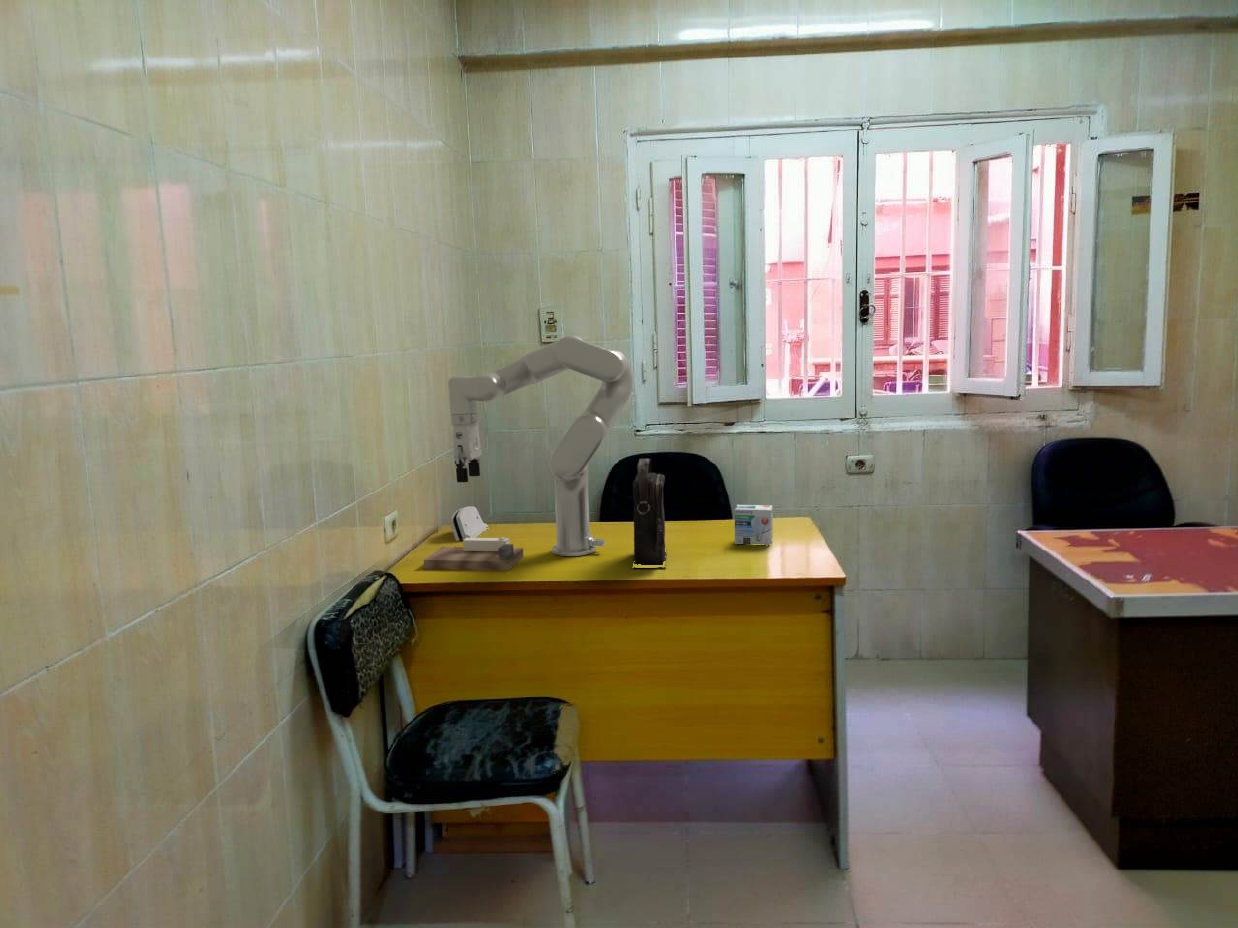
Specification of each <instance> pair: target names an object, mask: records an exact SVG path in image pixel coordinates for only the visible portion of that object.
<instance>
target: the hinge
mask: <svg viewBox="0 0 1238 928" xmlns="http://www.w3.org/2000/svg"><path fill="white" fill-rule="evenodd" d="M449 525H450V528H451V530H452V533H453V536H454V539H455V542H460V541H461V540H464V539H466V538H476V537H477V536H478V535H480V534H481V533H482V532H483V531H486V529H489V530H490V528H489V525H488V524H487V523H485V522H484V521H483V519H482V517H481V515H480V512H479V511H478V509H477V508H476V507H475V506H472V505H471V506H469V505H468V506H465V507H462V508H459V509H457V510H456V511H455V512H453V513H452V515H451V516H450V518H449ZM486 527H488V528H486ZM486 532H487V531H486ZM480 536H481V535H480ZM477 538H478V537H477Z"/></svg>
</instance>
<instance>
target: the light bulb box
mask: <svg viewBox="0 0 1238 928" xmlns="http://www.w3.org/2000/svg"><path fill="white" fill-rule="evenodd" d="M773 507H774V506H773V504H767V505H764V504H736V507H735V508H734V545H735V544H761V545H762V544H764V545H770V544H771V545H772V543H771V542H773V541H772V539H773V537H774V536H773V528H774V527H773V526H774V525H773V522H774V519H773V516H774V515H773V514H774V513H773V511H774V508H773Z"/></svg>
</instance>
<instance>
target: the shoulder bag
mask: <svg viewBox="0 0 1238 928" xmlns="http://www.w3.org/2000/svg"><path fill="white" fill-rule="evenodd" d="M636 469H637V474H636V476H635V478H634V480H633V482H632V497H633V498H632V499H633V549H634V550H633V558H632V562H633V561H635V562H634V564H637V565H638V564H641V565H663V562H664V561H666V562H667V554H668V549H667V550H666V551H667V553H666V552H665V548H666V542H665V538H666V537H665V536H666V533H665V532H666V526H665V525H666V522H665V521H666V520H665V508H664V507H665V506H664V485H665V480H666V478H665V475H664V474H661V473H656V472H652V459H651V458H646V457H645V458H639V460H638V462H637V467H636ZM665 556H666V557H665Z"/></svg>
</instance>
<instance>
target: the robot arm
mask: <svg viewBox="0 0 1238 928" xmlns="http://www.w3.org/2000/svg"><path fill="white" fill-rule="evenodd" d="M568 370H571V371H574V372H577V373H579V374H582V375H584V376H585V375H586V376H587V377H590V378H593V379H596V380H599V381H602V382H601V385H600V387H599V389H598V390H597V392H596V393H595V395H594V396H593V398H592V399H591V401H590V403H589V404H588V405H587V407H586V408H585V410H583V412H582V413H581V414H580V415H579V416H578V417H577V418H575V420H574V422H572V424H571V425H570V427H569V429H568V430H567V432H566V433H565V434H564V436H563V438H562V439H561V441H560V442H559V443H558V445H557V446H556V448H555V449H554V451H553V452H552V454H551V455H550V458H549V463H548V464H549V468H550V471H551V473H552V475H553V476H554V504H555V505H554V506H555V526H556V544H555V545H553V546H552V547H551V552H552V554H553V555H556V556H563V557H579V556H586V555H589V554H593V553H594V552H595V551H596V550H597V549H596V546H597V547H605V543H606V542H605V539H603V538H599V537H598V538H595V537H593V533H591V532H590V529H591V528H590V505H589V503H590V502H589V462H590V461H591V460H592V458H593V457H594V455H595V454H596V452H597V451H598V449H599V448H600V446H601V445H602V444H603V442H604V441H605V439H606V437H607V436H608V433H609V430H610V429H611V427H612V425H613V424H614V422H615V421H616V420H617V418H618V416H619V415H620V414H621V411H622V410H623V409H624V407H625V405H626V403H627V402H628V401H629V397H630V396H631V393H632V389H633V382H634V380H633V379H634V378H633V377H634V376H633V372H632V368H631V365H630V364H629V361H628V359H627V358H626V356H625V355H624V354H623V353H622V352H621V351H619V350H616V349H607V348H604V347H602V346H599V345H596V344H593V343H590V342H588V341H585V340H583V339H582V338H581V337H579V336H577V335H566V336H563V337H561V338H560V339H559V340H556V341H553V342H552V343H549V344H547V345H544V346H542V347H540V348H538V349H536V350H533V351H531V352H528V353H526V354H524V356H522V357H521V358H519V359H517V360H516V361H514V362H512V363H510V364H509V365H505V366H504V367H502V368H499V369H497V370H495V371H492V372H489V373H486V374H482V375H478V376H477V375H476V376H472V375H456V376H455V375H454V376H452V377H449V379H448V381H447V385H448V387H447V388H448V400H449V410H450V411H449V412H450V423H451V424H450V425H451V427H452V428H453V429H452V431H453V432H452V433H453V435H452V436H453V437H452V439H453V440H452V441H453V442H452V443H453V458H454V464H455V465H454V467H455V472H456V483H468V482H469V477H480V476H481V469H480V467H481V466H480V457H481V456H482V446H481V439H480V438H481V436H480V430H479V426H478V425H479V420H478V419H479V418H478V406H477V405H478V404H477V403H478V402H492V401H494V400H496V399H499V398H502V397H504V396H506V395H508V394H510V393H513V392H515V391H517V390H520V389H522V388H524V387H525V388H526V387H527V386H530V385H535V384H538V383H540V382H543V381H545V380H548V379H549V378H552V377H554V376H557V375H558V374H561V373H564V372H566V371H568ZM467 466H468V467H467Z"/></svg>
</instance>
